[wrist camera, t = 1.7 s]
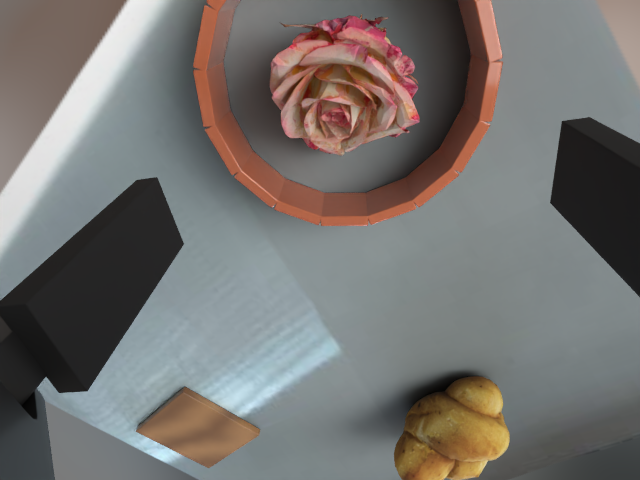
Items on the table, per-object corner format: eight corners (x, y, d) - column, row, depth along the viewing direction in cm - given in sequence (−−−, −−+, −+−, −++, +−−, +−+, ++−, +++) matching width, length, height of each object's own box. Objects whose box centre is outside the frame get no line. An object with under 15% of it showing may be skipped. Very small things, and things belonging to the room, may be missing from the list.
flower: (279, -44, 23) (234, 58, 20) (447, -39, 21) (426, 75, 18) (305, 86, 31) (276, 171, 28) (425, 98, 29) (408, 190, 26)
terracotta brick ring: (191, 154, 31) (172, 174, 28) (253, -144, 22) (236, -169, 18) (403, 230, 33) (409, 258, 30) (539, -7, 24) (570, -7, 21)
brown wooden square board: (138, 425, 50) (135, 431, 50) (184, 386, 46) (182, 392, 45) (210, 462, 54) (208, 468, 53) (260, 429, 49) (259, 435, 49)
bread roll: (462, 353, 40) (485, 426, 34) (528, 392, 43) (562, 468, 36) (381, 415, 46) (386, 487, 40) (443, 446, 49) (459, 520, 42)
